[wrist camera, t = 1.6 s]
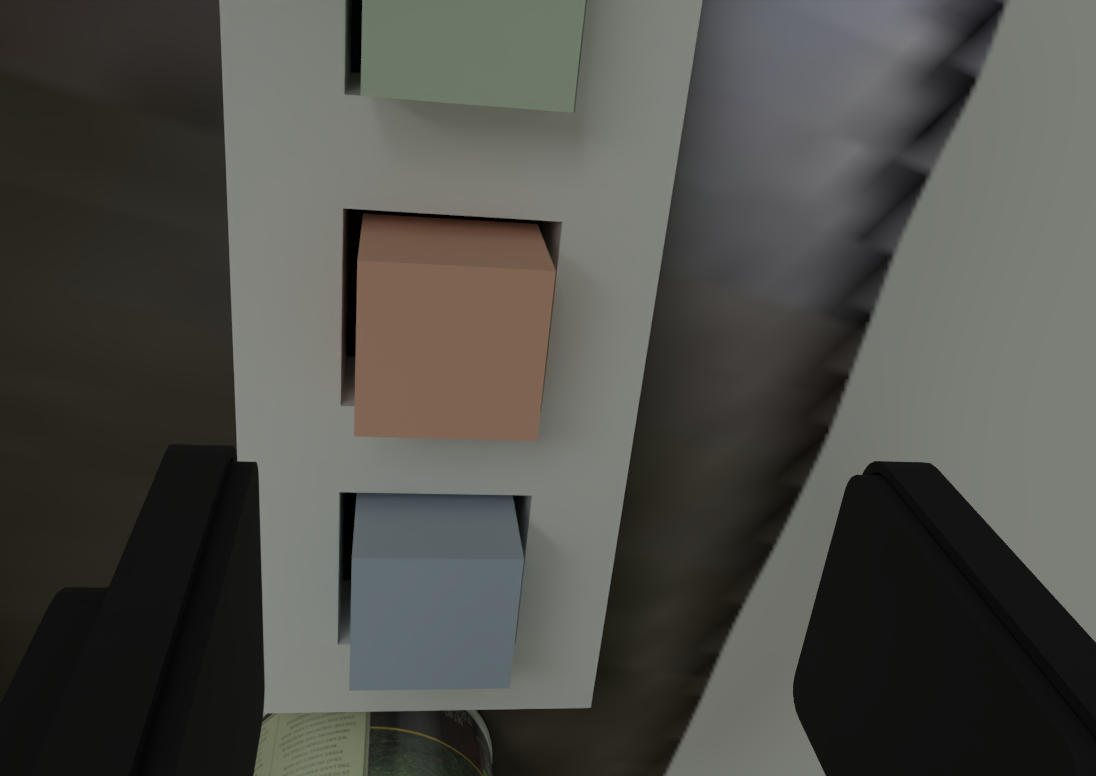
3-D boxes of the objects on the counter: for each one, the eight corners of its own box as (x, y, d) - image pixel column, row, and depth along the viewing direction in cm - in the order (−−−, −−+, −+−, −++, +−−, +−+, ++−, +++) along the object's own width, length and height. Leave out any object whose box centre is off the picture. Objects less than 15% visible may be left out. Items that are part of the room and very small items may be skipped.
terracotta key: (363, 213, 28) (357, 260, 25) (537, 223, 29) (555, 270, 26) (359, 372, 31) (354, 436, 27) (522, 378, 31) (536, 441, 28)
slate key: (357, 483, 32) (351, 557, 29) (511, 486, 33) (523, 559, 30) (354, 607, 35) (349, 690, 31) (499, 607, 35) (509, 688, 32)
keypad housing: (230, -321, 24) (205, -350, 21) (705, -254, 26) (745, -273, 23) (260, 644, 37) (247, 713, 34) (576, 643, 39) (590, 707, 36)
